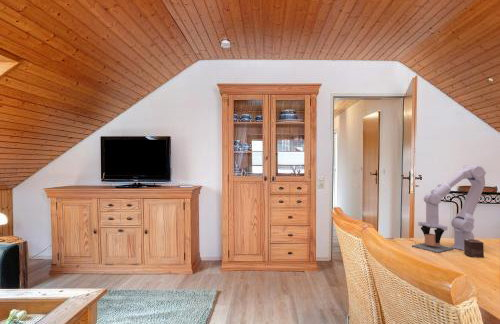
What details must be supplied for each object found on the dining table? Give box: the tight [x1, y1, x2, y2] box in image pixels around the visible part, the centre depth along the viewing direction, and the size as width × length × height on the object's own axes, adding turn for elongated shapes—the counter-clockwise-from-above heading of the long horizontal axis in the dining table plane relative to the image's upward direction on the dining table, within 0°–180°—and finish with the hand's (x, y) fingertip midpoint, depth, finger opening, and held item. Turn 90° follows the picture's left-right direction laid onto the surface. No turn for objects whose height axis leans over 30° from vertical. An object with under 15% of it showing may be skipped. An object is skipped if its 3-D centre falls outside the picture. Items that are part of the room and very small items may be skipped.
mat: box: [411, 242, 455, 254], centre depth 167 cm, size 14×14×1 cm
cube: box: [424, 233, 441, 246], centre depth 167 cm, size 5×5×5 cm
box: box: [463, 239, 485, 258], centre depth 153 cm, size 6×6×7 cm
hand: (432, 241), depth 167 cm, fingers closed on cube, 5 cm apart
